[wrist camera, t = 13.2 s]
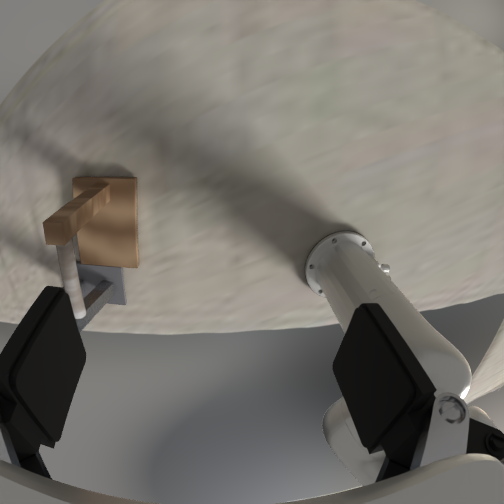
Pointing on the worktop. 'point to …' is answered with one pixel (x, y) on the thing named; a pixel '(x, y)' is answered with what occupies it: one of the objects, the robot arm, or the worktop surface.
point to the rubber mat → (97, 274)
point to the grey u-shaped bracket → (94, 300)
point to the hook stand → (95, 230)
